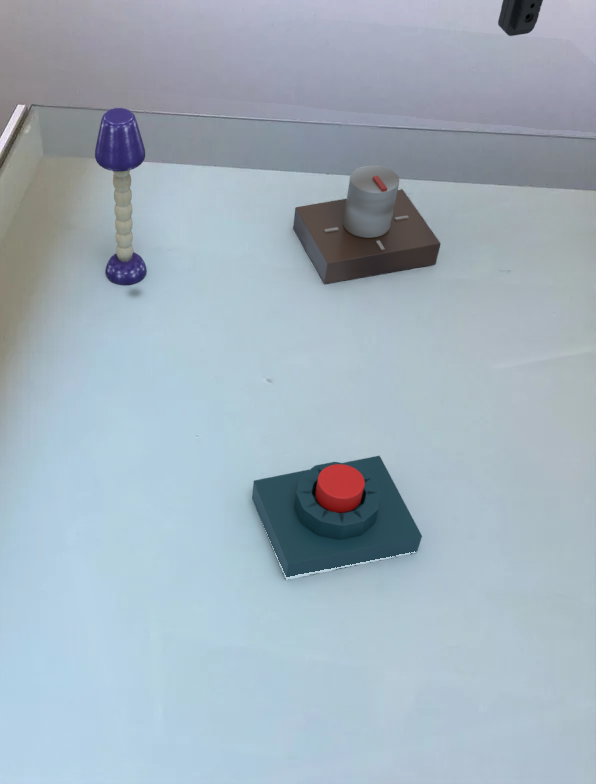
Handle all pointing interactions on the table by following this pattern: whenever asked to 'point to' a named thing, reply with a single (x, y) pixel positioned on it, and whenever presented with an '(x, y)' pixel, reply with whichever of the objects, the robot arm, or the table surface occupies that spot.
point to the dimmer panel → (364, 241)
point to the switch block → (334, 520)
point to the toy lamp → (121, 188)
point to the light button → (339, 488)
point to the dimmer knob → (370, 201)
